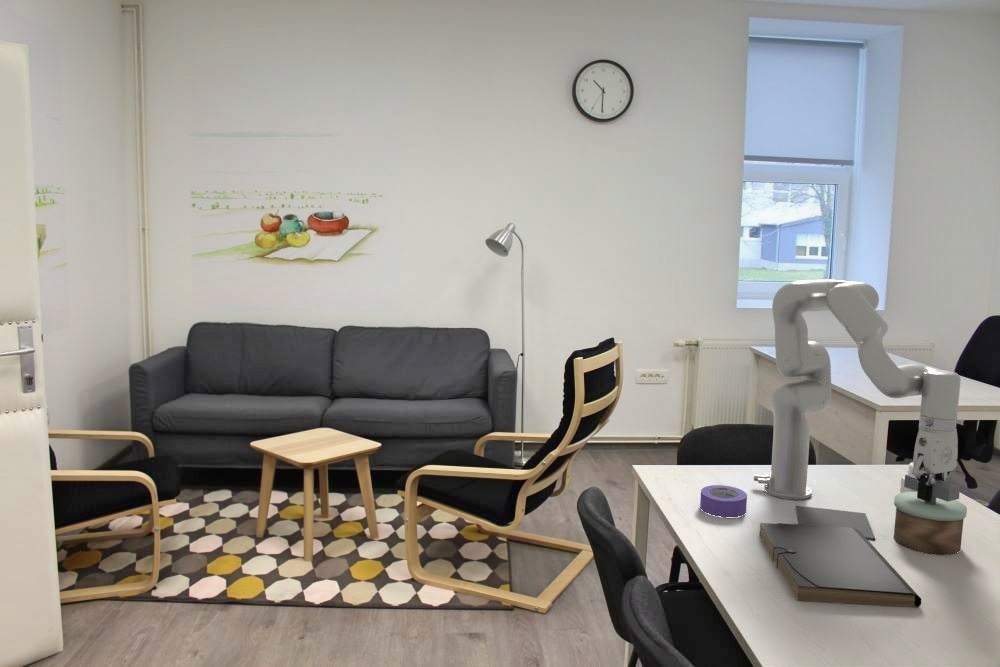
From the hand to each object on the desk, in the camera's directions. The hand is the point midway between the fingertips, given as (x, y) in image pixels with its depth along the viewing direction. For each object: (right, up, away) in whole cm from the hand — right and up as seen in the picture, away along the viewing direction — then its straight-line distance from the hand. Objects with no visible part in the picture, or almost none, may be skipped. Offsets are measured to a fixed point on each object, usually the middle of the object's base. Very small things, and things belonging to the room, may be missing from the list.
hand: (930, 497), depth 182 cm
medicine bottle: (+11, -8, +25) cm, 29 cm away
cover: (0, -3, 0) cm, 3 cm away
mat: (-17, -9, +13) cm, 24 cm away
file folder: (-29, -14, -12) cm, 34 cm away
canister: (0, -11, +2) cm, 11 cm away
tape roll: (-43, -8, +22) cm, 49 cm away
